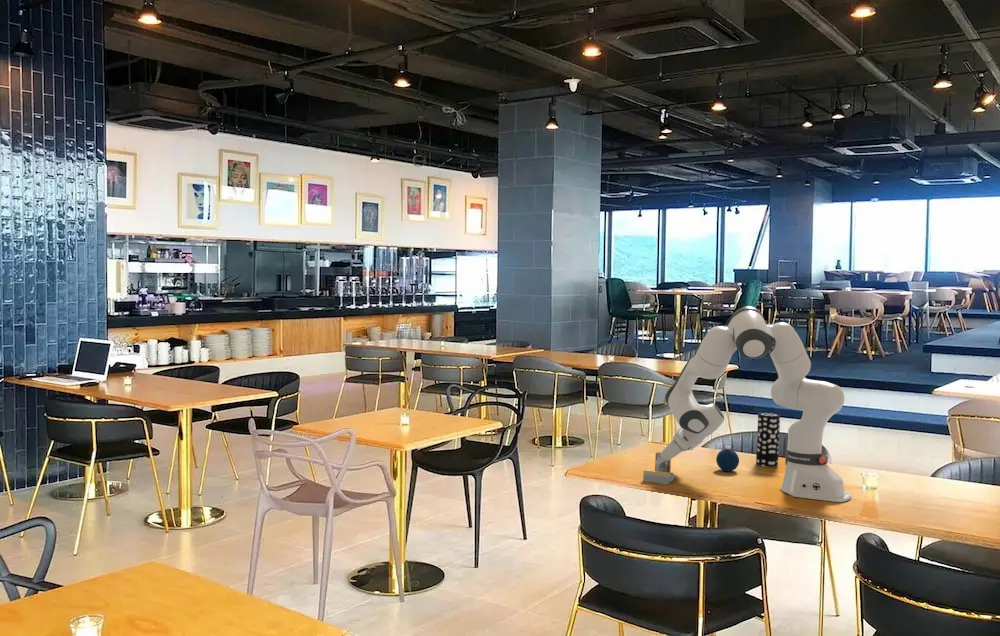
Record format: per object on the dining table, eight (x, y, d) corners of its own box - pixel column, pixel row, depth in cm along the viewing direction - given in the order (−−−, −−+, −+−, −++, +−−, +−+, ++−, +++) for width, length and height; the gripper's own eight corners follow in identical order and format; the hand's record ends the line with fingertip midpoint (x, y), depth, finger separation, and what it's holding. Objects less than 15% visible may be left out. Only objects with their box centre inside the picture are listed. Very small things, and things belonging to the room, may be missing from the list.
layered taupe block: (670, 474, 310) (671, 453, 310) (668, 476, 307) (669, 454, 307) (656, 473, 312) (657, 451, 312) (654, 474, 309) (655, 453, 309)
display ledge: (673, 479, 302) (673, 468, 301) (668, 484, 294) (668, 473, 294) (648, 476, 305) (649, 466, 305) (643, 481, 298) (643, 470, 298)
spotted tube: (773, 468, 326) (775, 417, 326) (752, 464, 331) (754, 414, 331) (781, 464, 333) (783, 414, 332) (760, 461, 338) (762, 412, 337)
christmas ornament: (736, 469, 323) (737, 443, 322) (740, 474, 314) (741, 447, 314) (714, 468, 324) (715, 442, 323) (717, 472, 315) (718, 446, 315)
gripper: (687, 427, 316) (660, 450, 320) (674, 435, 297) (646, 459, 302) (698, 440, 314) (671, 463, 319) (686, 449, 295) (658, 473, 300)
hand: (659, 461), depth 310 cm, fingers open, 7 cm apart
